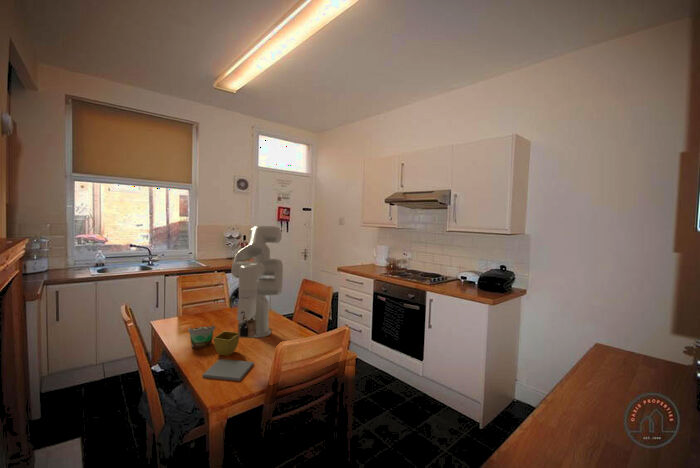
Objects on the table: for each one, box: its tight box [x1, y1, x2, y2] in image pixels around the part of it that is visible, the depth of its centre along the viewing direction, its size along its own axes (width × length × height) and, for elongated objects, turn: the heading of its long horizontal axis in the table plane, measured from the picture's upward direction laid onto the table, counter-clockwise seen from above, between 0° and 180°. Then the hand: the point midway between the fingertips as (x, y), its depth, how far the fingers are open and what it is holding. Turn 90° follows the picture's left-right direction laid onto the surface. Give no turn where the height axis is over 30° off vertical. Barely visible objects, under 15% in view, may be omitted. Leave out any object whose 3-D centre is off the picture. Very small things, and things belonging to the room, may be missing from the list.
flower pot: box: [213, 330, 240, 357], centre depth 152 cm, size 9×9×9 cm
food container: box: [187, 324, 216, 350], centre depth 158 cm, size 12×6×10 cm, turn 117°
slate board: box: [202, 358, 255, 382], centre depth 137 cm, size 14×16×1 cm
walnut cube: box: [237, 319, 257, 339], centre depth 139 cm, size 6×6×6 cm
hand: (247, 332), depth 139 cm, fingers closed on walnut cube, 6 cm apart
